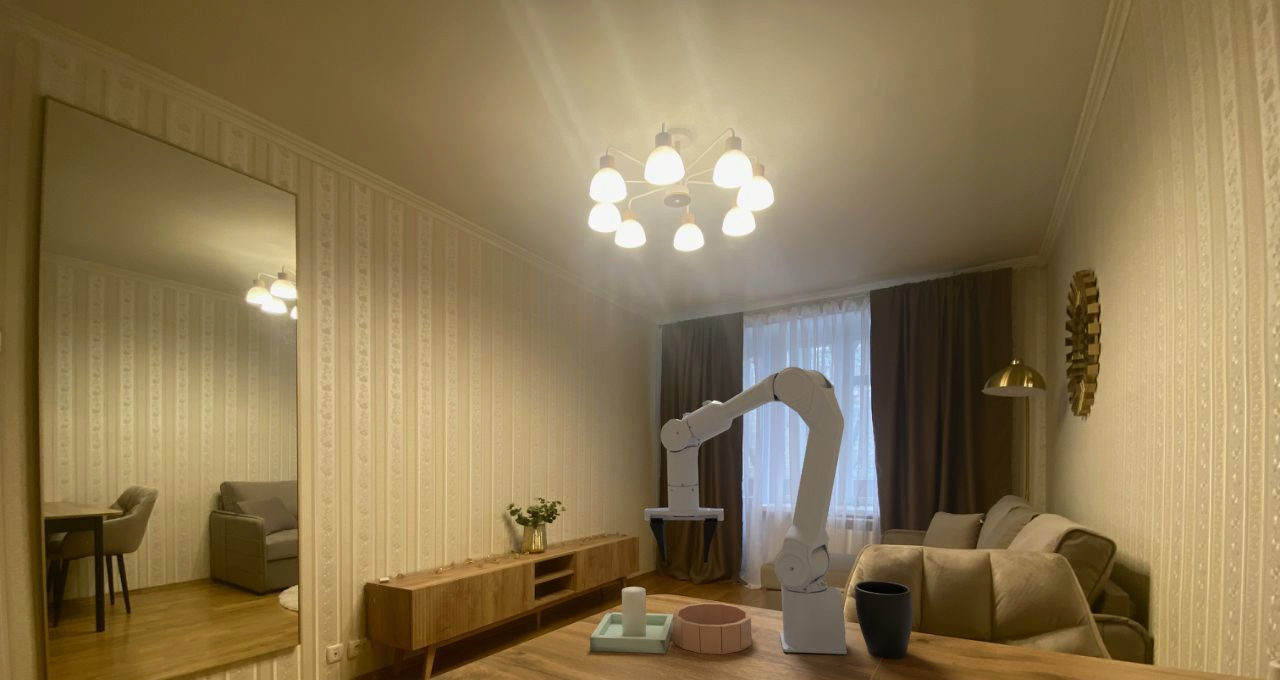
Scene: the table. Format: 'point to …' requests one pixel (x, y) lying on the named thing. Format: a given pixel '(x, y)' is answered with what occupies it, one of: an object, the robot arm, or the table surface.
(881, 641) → the mug
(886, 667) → the table surface
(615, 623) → the tray
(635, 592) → the peg
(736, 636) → the segmented salmon ring
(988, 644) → the table surface
